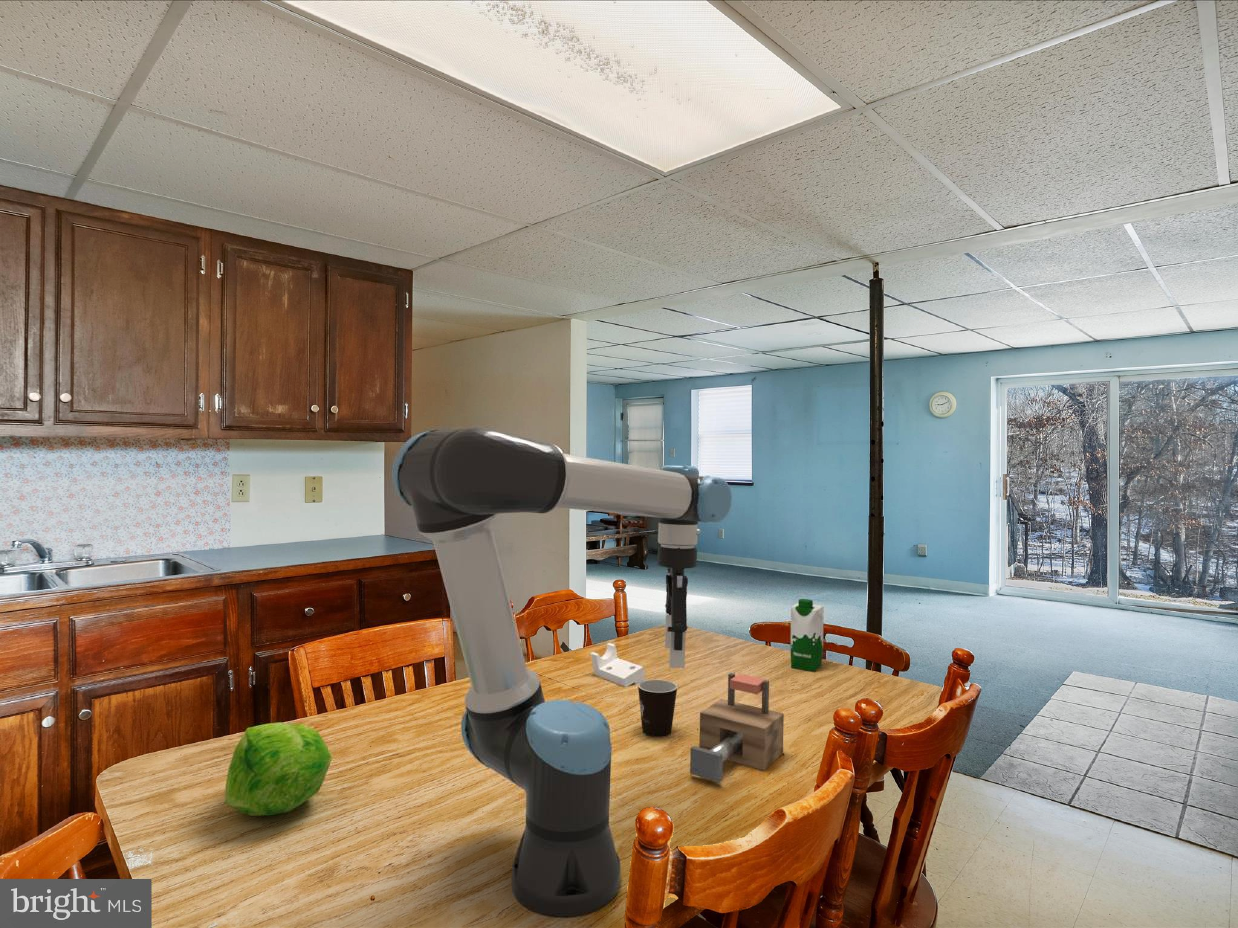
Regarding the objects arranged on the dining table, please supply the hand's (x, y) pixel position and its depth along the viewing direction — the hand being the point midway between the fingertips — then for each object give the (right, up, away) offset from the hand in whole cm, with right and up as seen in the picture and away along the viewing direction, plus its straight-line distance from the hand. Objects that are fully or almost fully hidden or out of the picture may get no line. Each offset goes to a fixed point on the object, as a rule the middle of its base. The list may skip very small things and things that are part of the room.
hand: (674, 657), depth 127 cm
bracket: (-11, -22, +55) cm, 60 cm away
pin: (+10, -21, +2) cm, 23 cm away
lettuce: (-68, -21, -15) cm, 73 cm away
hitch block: (+15, -22, +9) cm, 28 cm away
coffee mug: (-2, -22, +20) cm, 30 cm away
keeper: (+16, -10, +11) cm, 22 cm away
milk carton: (+45, -23, +68) cm, 85 cm away
